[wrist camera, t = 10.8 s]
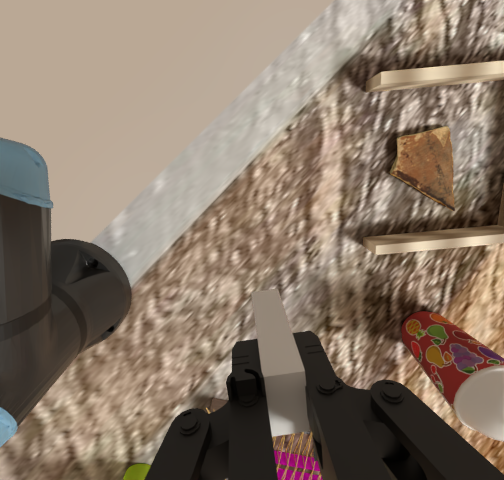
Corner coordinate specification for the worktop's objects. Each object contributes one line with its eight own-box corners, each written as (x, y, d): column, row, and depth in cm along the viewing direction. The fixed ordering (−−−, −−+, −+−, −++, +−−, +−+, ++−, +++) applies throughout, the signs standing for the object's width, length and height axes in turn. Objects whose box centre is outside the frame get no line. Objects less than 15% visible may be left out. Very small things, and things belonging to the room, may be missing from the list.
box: (363, 245, 40) (375, 254, 36) (365, 81, 34) (381, 71, 30) (504, 232, 40) (532, 240, 36) (530, 66, 34) (566, 54, 30)
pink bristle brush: (190, 456, 50) (182, 496, 44) (208, 390, 46) (203, 424, 40) (377, 489, 53) (393, 531, 47) (408, 430, 50) (430, 467, 44)
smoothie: (409, 360, 45) (531, 510, 26) (381, 323, 43) (491, 456, 24) (456, 331, 44) (622, 465, 25) (430, 291, 42) (587, 404, 23)
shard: (447, 209, 39) (456, 211, 38) (391, 221, 40) (398, 224, 38) (443, 125, 36) (453, 124, 35) (383, 139, 37) (390, 138, 35)
